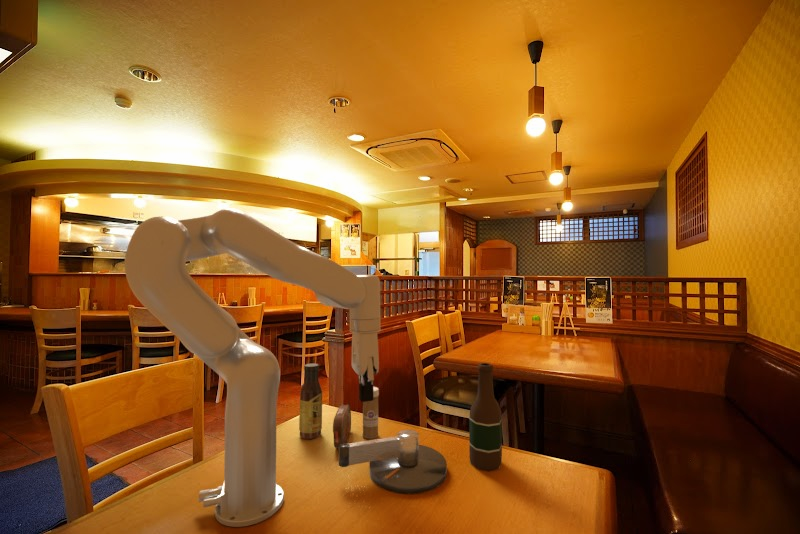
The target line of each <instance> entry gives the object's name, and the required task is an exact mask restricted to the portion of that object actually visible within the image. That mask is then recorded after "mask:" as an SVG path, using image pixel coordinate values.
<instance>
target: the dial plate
mask: <svg viewBox="0 0 800 534" xmlns="http://www.w3.org/2000/svg"><path fill="white" fill-rule="evenodd" d="M447 463H448V462H447V460H446V458H445V457H444V455H443V454H442V453H440V451H438V450H436V449H434V448H432V447H429V446H427V445H424V444H423V445H422V444H419V462H418V463H417V464H415V465H413V466H404V465H401V464H399V463H398V461H397V457H395V458H389V459H383V460H377V461H371V462H369V467H368V468H369V471H368V472H369V476H370V479H371V481H372V482H373V483H374V484H375V485H376V486H378V487H379V488H381V489H383V490H385V491H387V492H391V493H395V494H399V495H418V494H423V493H428V492H430V491H433V490H435V489H437V488H438V487H440V486H441V485H442V484H443V483H444V482H445V480H446V478H447V472H448V471H447V468H448V467H447Z"/></svg>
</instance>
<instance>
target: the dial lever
mask: <svg viewBox="0 0 800 534" xmlns="http://www.w3.org/2000/svg"><path fill="white" fill-rule="evenodd" d="M419 442H420V433H419V432H418V431H415V430H413V429H402V430H400V431H398V432H397V436H396V435H395V436H389V437H382V438H374V439H368V440H365V441H355V442H351V443H348V442H347V443H343V444H340V445H339V448H338V466H339V467H340V468H347V467H349V466H353V465H360V464H365V463H370V462H371V461H377V460H383V459H389V458H395V457H397V461H398V463H399V464H401V465H404V466H413V465H415V464H417V463H418V462H419V445H420V443H419Z"/></svg>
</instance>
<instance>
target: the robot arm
mask: <svg viewBox="0 0 800 534" xmlns="http://www.w3.org/2000/svg"><path fill="white" fill-rule="evenodd" d="M126 248H127V249H126V252H125V255H124V271H125V272H124V273H125V277H126V281H127V283H128V286H129V288H130V290H131V292H132V293H133V295H134V296H135V298H136V299H137V300H138V301H139V302H140V304H141V305H142V306H143V307H144V308H146V311H147V310H148V312H149V313H151V315H153V317H155V318H156V319H157V320H158V321H159V322H160V323H161V324H162V325H163V326H164V327H165V328H166V329H168V330H169V331H170V332H171V333H172V334H173V335H174V336H175V337H176V338H177V339H179V342H181V344H182V345H183V347H185V349H187V350H188V351H189V352H190V353H191V354H194V355H195V356H196V357H197V358H199V360H200V361H202V362H203V363H204V364H206V366H208V367H209V368H210V369H211V370H213V372H215V373H216V374H217V375H218V376H219V377H220V378H221V379H222V380H223V381H224V382H225V383H226V398H225V399H226V400H225V408H224V467H223V468H224V473H223V474H224V481H223V484H222V485H218V486H217V488H209V489H202V490H199V492H198V503H202V502H203V503H202V504H203V505H202V507H203V508H207V507H212V506H215V507H214V516H215V519H216V521H218V523H220V524H222V525H223V526H227V527H234V528H239V527H242V528H243V527H248V526H253V525H256V524H259V523H261V522H263V521H265V520H267V519H269V518H271V516H272V517H273V515H274V514H276V512H278V511H279V510H280V508H281V507H282V506H283V503H284V499H285V492H284V490H283V488H282V487H281V486H280V485H278V484H277V407H278V406H277V405H278V404H277V403H278V393H279V389H280V381H281V368H280V364H279V361H278V359H277V357H276V355H274V353H272V351H271V350H270V349H268V348H266V347H264V346H262V345H261V344H258V343H257V342H255V341H254V340H253V339H251V337H249V336H248V335H247V334H246V333H245V331H243V330H242V329H241V328H240V327H239V326H238V324H237V321H236V320H235V318H234V317H233V316H232V314H230V312H228V311H227V310H226V309H224V308H223V307H221V306H220V305H219V303H217V302H216V301H215V300H214V299H213V298H212V297H211V296H210V295H209V294H208V293H207V292H206V291H204V289H203V288H202V287H201V286H200V285H199V284H198V282H196V281H195V279H193V277H192V275H191V274H190V273H189V271H188V269H187V264H186V262H191V261H197V260H201V259H206V258H211V257H214V256H220V255H224V254H227V255H229V256H231V257H233V258H235V259H236V260H239V261H240V262H241V261H242V262H243V263H245V264H247V265H249V266H251V267H253V268H254V269H256V270H259V271H260V272H261V273H264V274H266V276H269V277H271V278H273V279H275V280H277V281H280V282H282V283H283V282H284V283H286V284H292V285H294V286H300V287H302V288H304V289H307V290H310V291H312V292H314V293H313V294H314V296H315V298H316V300H317V301H318V302H319V303H320V304H322V305H323V306H326V307H330V308H331V307H333V308H338V309H345V310H349V332H350V333H351V334H352V335H351V337H352V338H351V368H352V369H353V371H354V372H355V373H356V375H358V382H359V384H358V397H359V398H358V399H359V401H360V403H361V402H362V403H363V402H366V401H372V400H373V387H374V381H375V377H374V375H377V374H378V373H379V369H380V368H379V367H380V361H379V360H380V357H379V356H380V355H379V339H378V338H379V337H378V333H379V332H381V280H380V278H379V276H377V275H376V274H355V273H353V272H351V271H350V270H349V269H348V268H346V267H343V266H342V265H340V264H339V263H337V262H336V261H334V260H331V259H329V258H328V257H325V256H323V255H321V254H318V253H317V252H314V251H312V250H311V249H308V248H306V247H304V246H301V245H299V244H297V243H295V242H294V241H292V240H290V239H288V238H286V237H285V236H283V235H281V234H280V233H278V232H277V231H275V230H273V229H272V228H270V227H268V226H267V225H265V224H264V223H262V222H260V221H258V219H256V218H254V217H252V216H250V215H249V214H248V213H246V212H244V211H241V210H239V209H236V208H231V207H229V208H228V207H227V208H223V209H220V210H218V211H216V212H214V213H213V214H210V215H205V216H201V217H193V218H187V219H180V220H177V219H174V218H172V217H170V216H155V217H154V216H153V217H150V218H148V219H145V220H144V221H143V222H141V223H140V224H139V225H138V226H137V227H136V229H135V230H134V232H133V234H132V236H131V238H130V241H129V243H128V246H127V247H126Z"/></svg>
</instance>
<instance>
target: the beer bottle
mask: <svg viewBox="0 0 800 534" xmlns="http://www.w3.org/2000/svg"><path fill="white" fill-rule="evenodd" d="M477 370H478V379H477V380H478V383H477V392H476V393H477V394H476V397H475V399H474V400H473V402H472V403H471V407H470V409H469V418H468V419H469V425H468V427H469V433H468V434H469V437H468V439H469V441H468V442H469V445H468V446H469V448H468V449H469V451H468V452H469V454H468V455H469V462H470V464H471V465H472V466H473V467H474V468H475V469H476V470H481V471H485V472H491V471H492V472H493V471H498V470H499V469H500V467H501V465H502V461H503V460H502V459H503V458H502V457H503V425H502V424H503V423H502V422H503V421H502V419H503V415H502V409H501V405H500V403H499V402H498V401H497V399H496V398H495V394H494V381H493V377H494V376H493V370H494V366H493V364H490V363H487V362H481V363H479V364H478V366H477Z"/></svg>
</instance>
